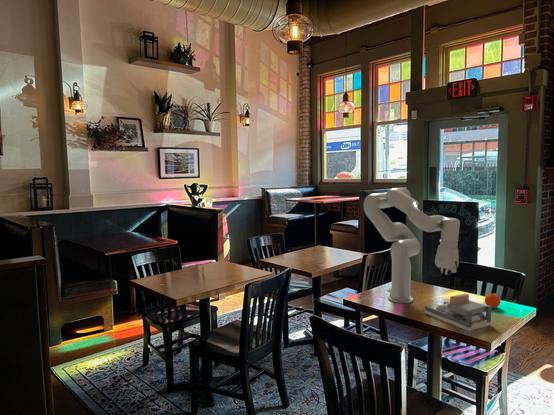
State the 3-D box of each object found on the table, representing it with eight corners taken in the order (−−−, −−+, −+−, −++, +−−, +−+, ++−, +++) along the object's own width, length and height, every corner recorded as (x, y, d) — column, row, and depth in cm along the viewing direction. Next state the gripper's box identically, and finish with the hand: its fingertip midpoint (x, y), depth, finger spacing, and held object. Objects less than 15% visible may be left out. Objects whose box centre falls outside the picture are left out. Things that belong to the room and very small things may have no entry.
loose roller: (462, 320, 180) (465, 313, 179) (475, 316, 184) (478, 309, 183) (469, 326, 177) (472, 319, 176) (483, 322, 181) (486, 315, 180)
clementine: (491, 304, 208) (492, 290, 208) (504, 308, 202) (505, 294, 202) (481, 306, 205) (481, 292, 204) (494, 310, 199) (495, 296, 198)
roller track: (424, 313, 196) (424, 295, 195) (445, 308, 202) (446, 291, 202) (468, 331, 174) (469, 311, 174) (490, 324, 181) (491, 306, 180)
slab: (447, 309, 185) (447, 297, 184) (466, 304, 191) (467, 293, 190) (466, 316, 176) (467, 303, 175) (486, 311, 182) (487, 299, 181)
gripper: (430, 241, 198) (427, 277, 201) (456, 248, 185) (452, 287, 187) (442, 240, 201) (438, 276, 204) (467, 247, 188) (463, 285, 191)
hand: (445, 281), depth 196 cm, fingers closed
